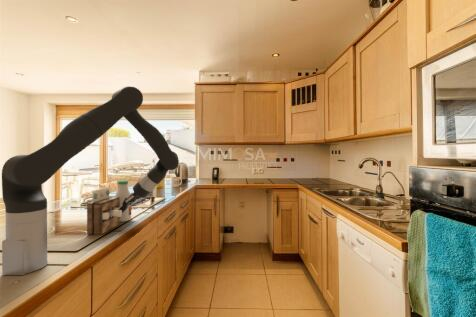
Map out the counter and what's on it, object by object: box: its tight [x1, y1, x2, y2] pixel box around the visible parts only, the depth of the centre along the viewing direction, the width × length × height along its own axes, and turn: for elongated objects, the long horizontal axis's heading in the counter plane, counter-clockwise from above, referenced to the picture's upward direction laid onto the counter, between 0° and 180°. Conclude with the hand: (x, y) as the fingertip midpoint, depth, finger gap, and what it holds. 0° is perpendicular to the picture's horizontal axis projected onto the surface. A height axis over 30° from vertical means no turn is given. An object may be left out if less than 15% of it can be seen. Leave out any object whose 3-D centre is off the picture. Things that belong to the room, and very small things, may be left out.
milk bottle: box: [114, 180, 132, 223], centre depth 123 cm, size 8×8×20 cm
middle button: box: [108, 210, 122, 217], centre depth 109 cm, size 3×5×3 cm, turn 88°
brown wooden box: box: [86, 196, 121, 235], centre depth 109 cm, size 15×6×13 cm, turn 178°
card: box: [91, 186, 111, 203], centre depth 109 cm, size 12×1×5 cm, turn 178°
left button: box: [102, 212, 110, 220], centre depth 104 cm, size 3×5×3 cm, turn 88°
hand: (120, 211), depth 113 cm, fingers closed
